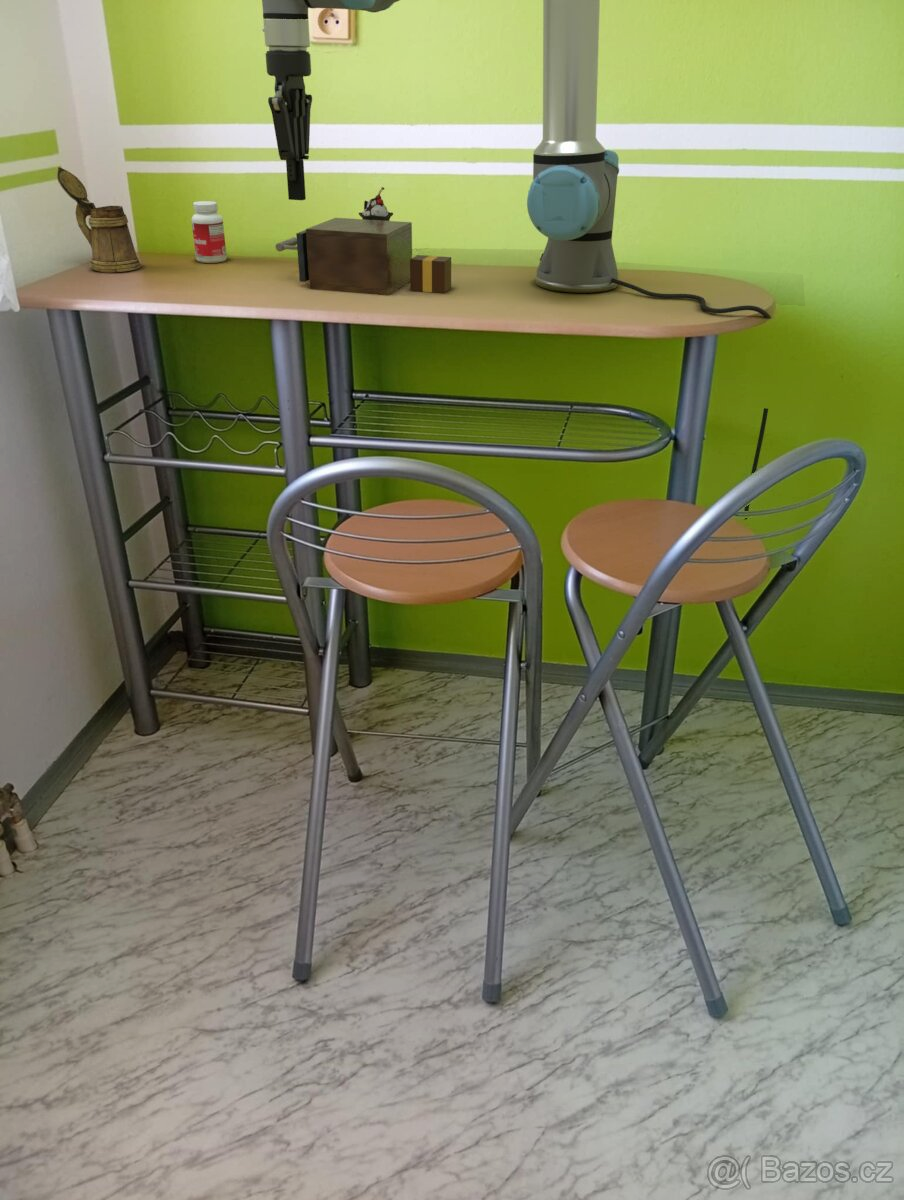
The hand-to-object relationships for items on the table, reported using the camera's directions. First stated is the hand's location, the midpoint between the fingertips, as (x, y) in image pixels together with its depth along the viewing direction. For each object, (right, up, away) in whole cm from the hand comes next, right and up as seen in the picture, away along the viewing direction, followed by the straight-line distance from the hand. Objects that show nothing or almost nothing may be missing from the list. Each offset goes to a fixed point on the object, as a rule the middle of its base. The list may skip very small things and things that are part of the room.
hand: (297, 199), depth 172 cm
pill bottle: (-21, -4, +22) cm, 30 cm away
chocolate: (+24, -16, +1) cm, 29 cm away
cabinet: (+11, -14, +4) cm, 19 cm away
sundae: (+13, -7, +17) cm, 23 cm away
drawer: (+6, -12, +5) cm, 15 cm away
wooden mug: (-40, -7, +15) cm, 43 cm away
